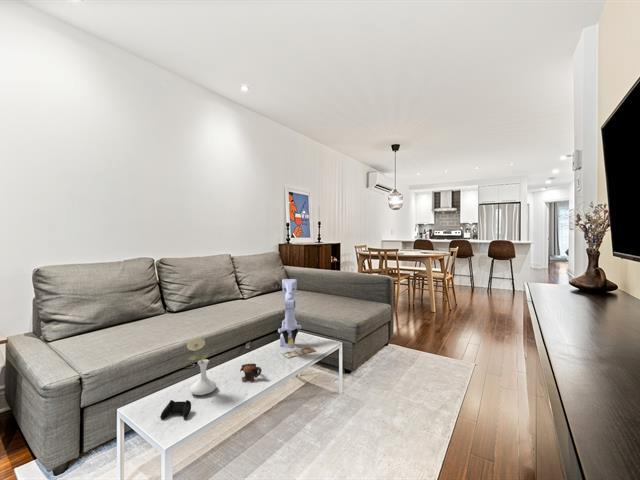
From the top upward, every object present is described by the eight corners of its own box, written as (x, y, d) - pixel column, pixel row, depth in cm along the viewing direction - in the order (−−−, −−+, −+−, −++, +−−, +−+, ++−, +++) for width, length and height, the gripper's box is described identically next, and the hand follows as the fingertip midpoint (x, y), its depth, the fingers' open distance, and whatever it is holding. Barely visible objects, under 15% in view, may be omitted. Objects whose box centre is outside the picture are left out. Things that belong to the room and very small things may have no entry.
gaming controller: (189, 421, 121) (195, 402, 126) (186, 418, 118) (191, 398, 123) (162, 421, 121) (168, 402, 126) (158, 418, 118) (165, 398, 123)
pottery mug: (235, 383, 149) (236, 365, 153) (246, 383, 157) (246, 366, 161) (257, 379, 146) (257, 361, 150) (266, 380, 154) (266, 363, 158)
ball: (285, 345, 178) (285, 338, 178) (287, 342, 182) (287, 336, 182) (292, 345, 178) (292, 338, 178) (293, 343, 182) (293, 336, 182)
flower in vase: (218, 384, 147) (218, 332, 146) (214, 396, 135) (214, 341, 135) (189, 386, 144) (189, 334, 144) (183, 399, 133) (183, 342, 133)
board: (287, 360, 175) (287, 354, 175) (280, 355, 182) (280, 349, 182) (316, 353, 186) (316, 347, 186) (308, 348, 194) (308, 343, 194)
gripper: (282, 323, 173) (281, 347, 173) (303, 319, 181) (303, 342, 181) (276, 320, 179) (276, 343, 179) (297, 316, 187) (297, 338, 187)
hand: (289, 342), depth 180 cm, fingers closed on ball, 4 cm apart
